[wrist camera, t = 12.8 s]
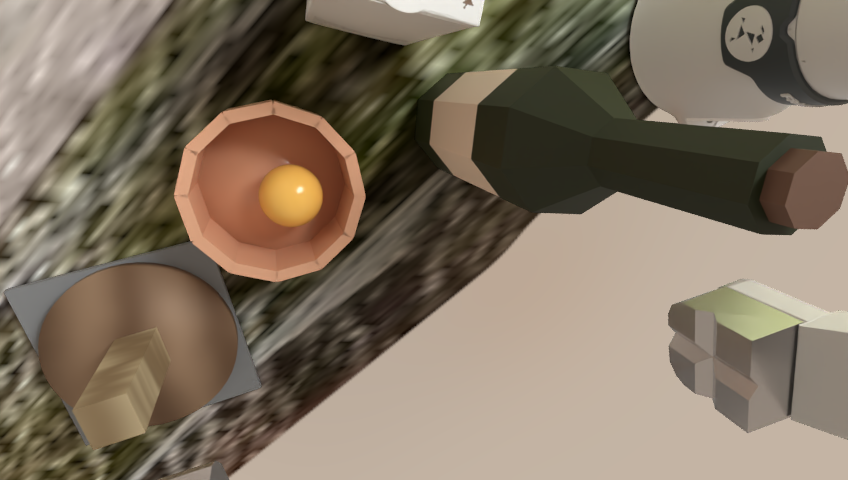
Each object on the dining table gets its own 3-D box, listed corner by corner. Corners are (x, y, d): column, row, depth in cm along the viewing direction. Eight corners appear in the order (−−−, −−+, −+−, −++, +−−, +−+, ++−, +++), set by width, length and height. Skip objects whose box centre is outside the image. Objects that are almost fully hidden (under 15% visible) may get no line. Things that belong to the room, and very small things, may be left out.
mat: (207, 236, 39) (207, 238, 38) (261, 384, 44) (261, 387, 43) (7, 288, 36) (3, 291, 35) (88, 440, 41) (86, 445, 40)
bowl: (329, 87, 38) (339, 87, 33) (364, 231, 43) (379, 252, 37) (165, 121, 36) (147, 127, 30) (220, 271, 40) (213, 300, 34)
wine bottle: (395, 145, 41) (652, 263, 14) (441, 52, 40) (820, -23, 13) (476, 188, 44) (815, 352, 17) (521, 102, 43) (960, 129, 16)
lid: (206, 241, 38) (187, 289, 29) (259, 386, 43) (257, 466, 34) (9, 292, 36) (-80, 364, 26) (88, 442, 40) (36, 546, 31)
